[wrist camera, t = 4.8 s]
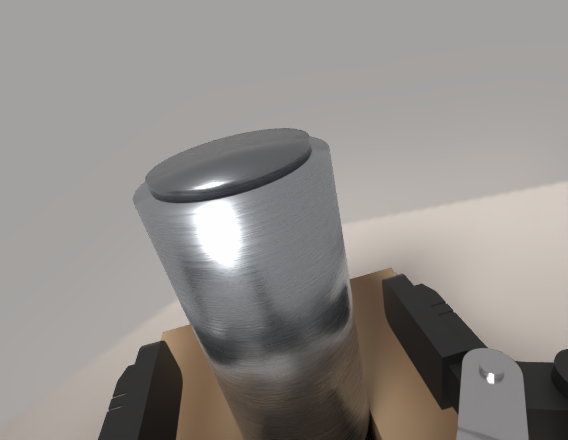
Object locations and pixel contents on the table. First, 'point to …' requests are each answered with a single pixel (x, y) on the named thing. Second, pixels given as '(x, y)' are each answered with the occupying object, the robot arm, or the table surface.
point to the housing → (377, 371)
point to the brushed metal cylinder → (264, 279)
